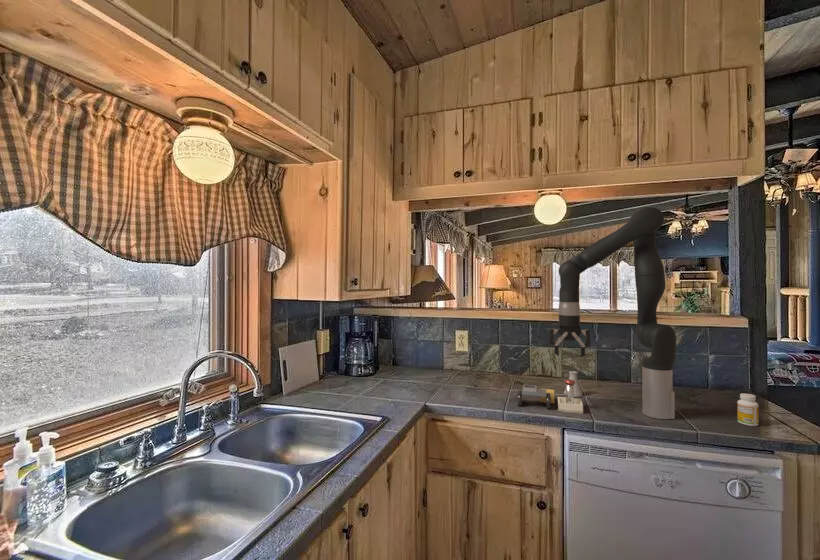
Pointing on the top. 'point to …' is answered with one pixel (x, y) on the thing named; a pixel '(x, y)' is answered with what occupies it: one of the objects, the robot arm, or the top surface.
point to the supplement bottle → (747, 410)
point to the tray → (570, 405)
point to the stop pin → (569, 391)
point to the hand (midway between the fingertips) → (569, 356)
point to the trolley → (534, 391)
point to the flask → (576, 386)
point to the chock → (543, 398)
